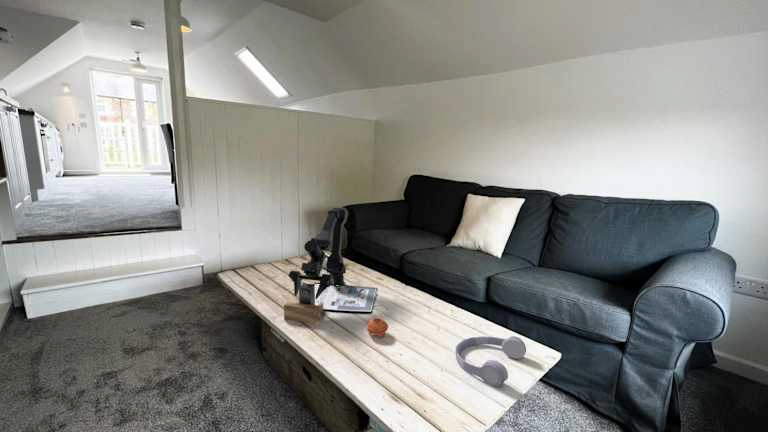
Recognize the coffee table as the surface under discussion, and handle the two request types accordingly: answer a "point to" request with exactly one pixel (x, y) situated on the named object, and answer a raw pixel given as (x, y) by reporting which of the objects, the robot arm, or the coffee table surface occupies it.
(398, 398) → the coffee table surface
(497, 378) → the headphones
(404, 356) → the coffee table surface
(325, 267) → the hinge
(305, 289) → the stepped grey pillar
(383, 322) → the pot
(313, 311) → the brown wooden frame
